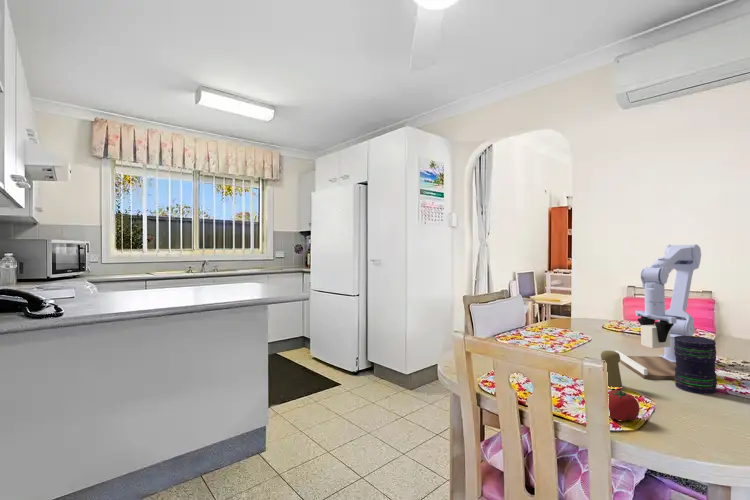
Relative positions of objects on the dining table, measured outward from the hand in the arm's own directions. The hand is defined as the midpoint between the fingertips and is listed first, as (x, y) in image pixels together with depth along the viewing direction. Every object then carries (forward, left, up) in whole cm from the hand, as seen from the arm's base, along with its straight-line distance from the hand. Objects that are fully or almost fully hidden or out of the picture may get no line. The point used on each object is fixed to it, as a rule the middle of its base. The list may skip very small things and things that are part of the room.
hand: (655, 340), depth 134 cm
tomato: (+29, +42, -10) cm, 52 cm away
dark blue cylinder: (-2, +18, -10) cm, 21 cm away
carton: (0, 0, -2) cm, 2 cm away
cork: (+22, +19, -10) cm, 30 cm away
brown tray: (+1, 0, -10) cm, 10 cm away
